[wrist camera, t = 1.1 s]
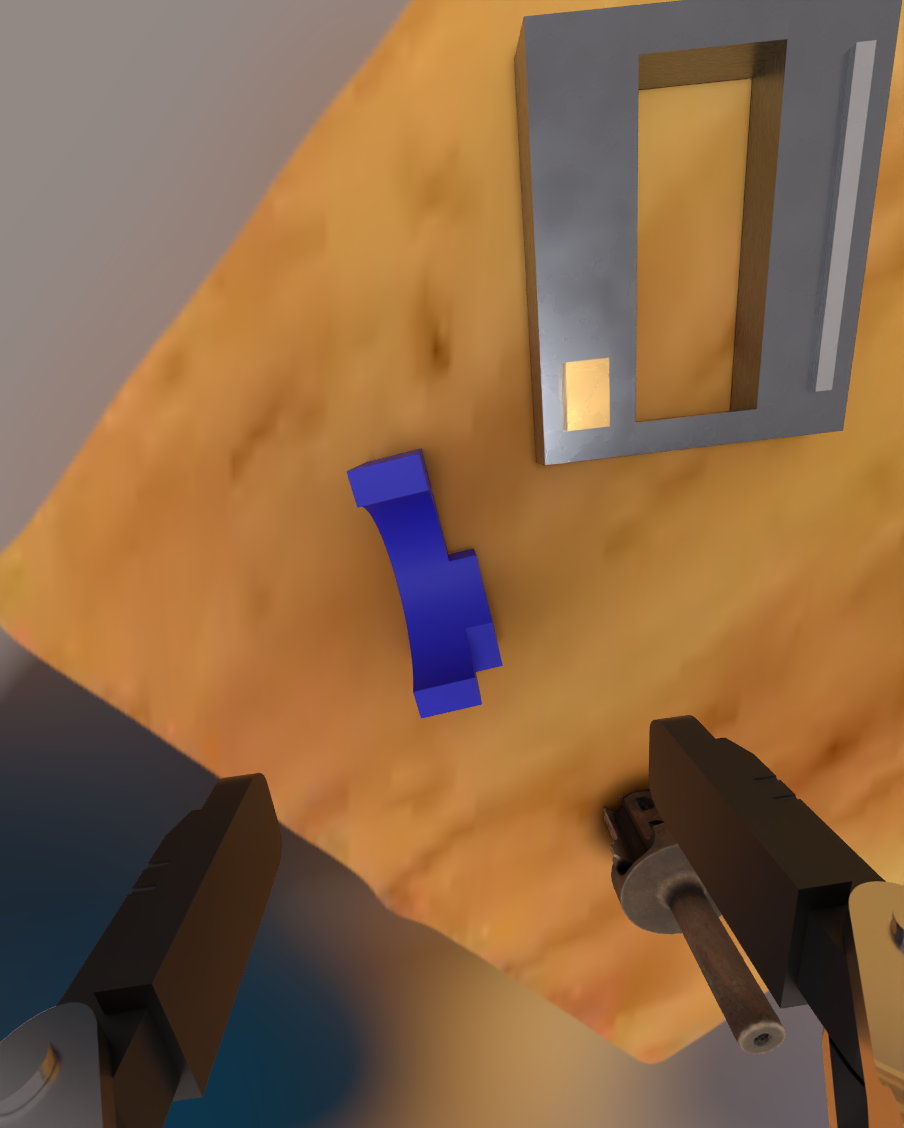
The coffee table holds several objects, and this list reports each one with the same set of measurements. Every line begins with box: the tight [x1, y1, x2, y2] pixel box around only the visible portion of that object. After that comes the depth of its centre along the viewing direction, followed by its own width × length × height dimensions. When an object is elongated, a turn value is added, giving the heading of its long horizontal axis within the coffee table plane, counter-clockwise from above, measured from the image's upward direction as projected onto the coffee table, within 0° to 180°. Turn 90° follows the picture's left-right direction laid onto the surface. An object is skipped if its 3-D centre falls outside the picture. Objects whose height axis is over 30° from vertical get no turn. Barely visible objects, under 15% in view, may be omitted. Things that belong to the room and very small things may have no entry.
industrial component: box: [603, 791, 785, 1054], centre depth 26 cm, size 9×7×12 cm
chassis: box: [514, 0, 902, 465], centre depth 20 cm, size 15×17×3 cm
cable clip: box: [347, 449, 503, 718], centre depth 22 cm, size 12×4×6 cm, turn 13°
